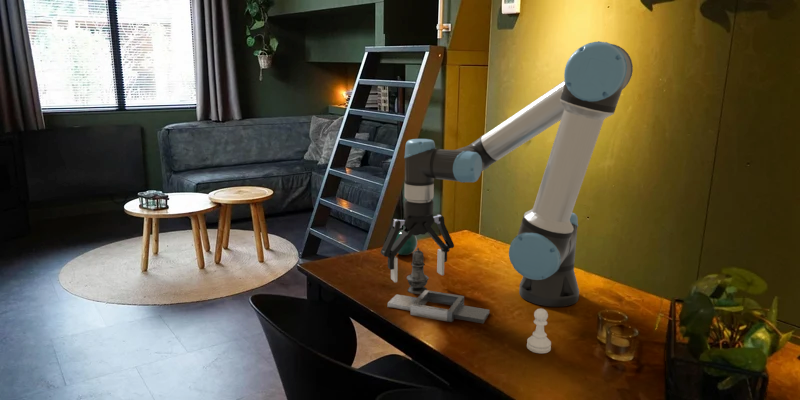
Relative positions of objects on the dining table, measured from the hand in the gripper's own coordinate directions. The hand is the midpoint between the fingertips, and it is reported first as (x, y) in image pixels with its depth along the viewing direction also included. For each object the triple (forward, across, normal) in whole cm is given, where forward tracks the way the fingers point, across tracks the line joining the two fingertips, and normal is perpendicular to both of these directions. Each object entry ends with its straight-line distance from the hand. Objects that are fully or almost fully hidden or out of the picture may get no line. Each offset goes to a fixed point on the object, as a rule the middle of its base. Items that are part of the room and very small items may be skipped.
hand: (417, 277), depth 152 cm
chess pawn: (+4, -11, +39) cm, 41 cm away
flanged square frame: (+4, +1, +13) cm, 14 cm away
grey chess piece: (+4, 0, 0) cm, 4 cm away
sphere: (+4, -8, -28) cm, 30 cm away
